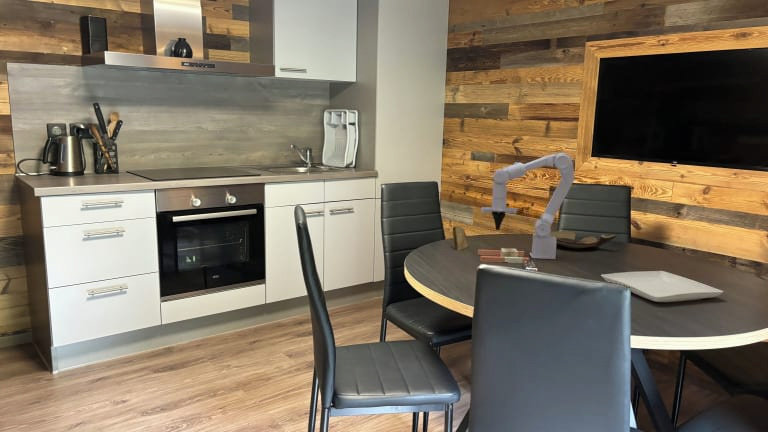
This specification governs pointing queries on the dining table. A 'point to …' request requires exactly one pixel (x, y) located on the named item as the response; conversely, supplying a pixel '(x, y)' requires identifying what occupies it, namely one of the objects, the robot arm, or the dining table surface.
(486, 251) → the pink-beige flat slab
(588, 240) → the dark brown bowl
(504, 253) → the maple block
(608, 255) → the dining table surface
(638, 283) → the square plate
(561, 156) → the robot arm
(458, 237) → the rock
